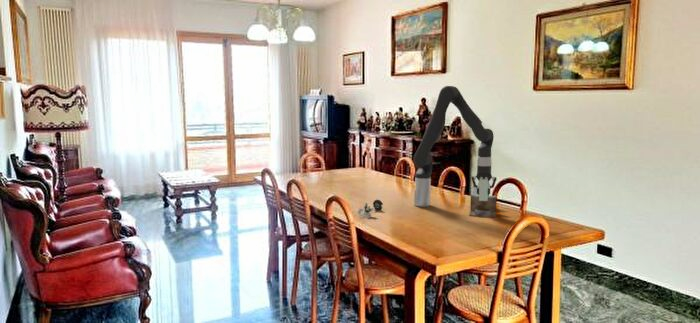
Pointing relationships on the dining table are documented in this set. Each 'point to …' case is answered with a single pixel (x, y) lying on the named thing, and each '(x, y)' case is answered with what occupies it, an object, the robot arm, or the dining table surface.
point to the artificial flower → (366, 213)
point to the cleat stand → (483, 207)
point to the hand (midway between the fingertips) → (483, 194)
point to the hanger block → (483, 189)
